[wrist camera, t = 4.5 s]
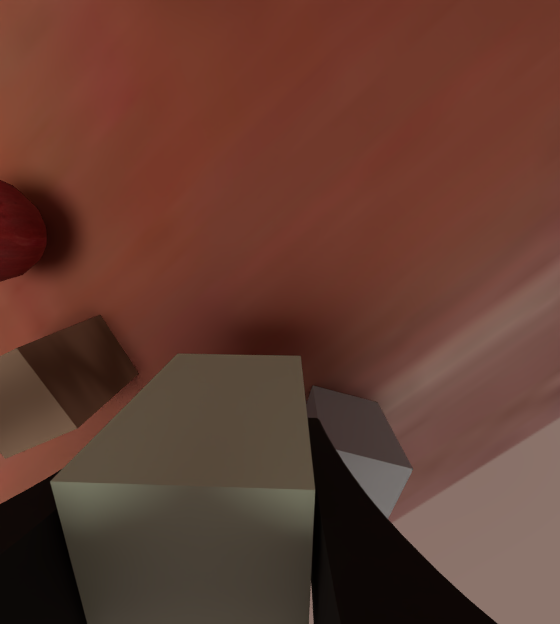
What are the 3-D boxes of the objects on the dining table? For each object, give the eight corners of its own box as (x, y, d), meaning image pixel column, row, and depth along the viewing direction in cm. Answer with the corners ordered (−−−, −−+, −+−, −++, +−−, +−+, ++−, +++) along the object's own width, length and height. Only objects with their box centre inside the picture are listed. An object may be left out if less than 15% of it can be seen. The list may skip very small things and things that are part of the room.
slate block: (354, 454, 21) (379, 536, 15) (293, 439, 21) (295, 515, 15) (377, 401, 20) (413, 469, 14) (312, 385, 20) (322, 446, 14)
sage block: (297, 458, 12) (306, 662, 6) (187, 456, 12) (94, 652, 6) (300, 355, 11) (314, 490, 5) (177, 353, 11) (49, 481, 5)
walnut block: (139, 373, 20) (77, 428, 14) (85, 397, 21) (5, 458, 15) (100, 314, 19) (16, 348, 13) (45, 341, 19) (-59, 385, 14)
